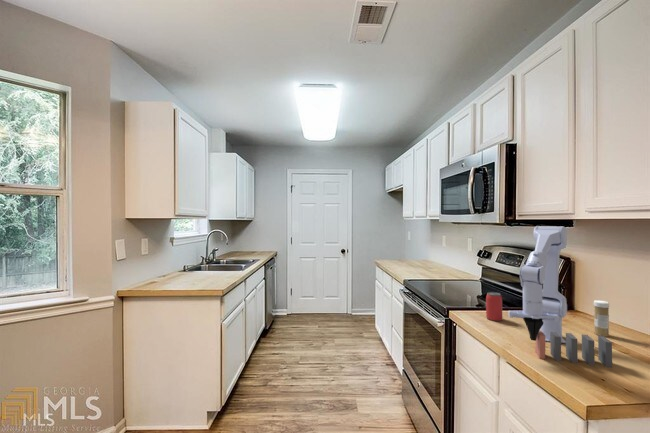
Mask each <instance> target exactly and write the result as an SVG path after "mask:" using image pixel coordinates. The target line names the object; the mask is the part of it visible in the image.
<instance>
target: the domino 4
mask: <svg viewBox="0 0 650 433" xmlns="http://www.w3.org/2000/svg"><path fill="white" fill-rule="evenodd" d="M597 340H598V341H597V343H598V346H597V349H598V350H597V352H598V356H597V357H598V361H599V362H600V363H601V364H603V366H604V367H605V368H613V342H612V341H610V340H609V339H608V338H607V337H604V336H599V335H597Z"/></svg>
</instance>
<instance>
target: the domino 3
mask: <svg viewBox="0 0 650 433" xmlns="http://www.w3.org/2000/svg"><path fill="white" fill-rule="evenodd" d="M581 358H582V360H584V361H585V363H586V364H588V366H589V365H590V366H595V363H596V361H595V340H594V339H593V338H592V337H591V336H589V334H581Z"/></svg>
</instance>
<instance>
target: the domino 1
mask: <svg viewBox="0 0 650 433" xmlns="http://www.w3.org/2000/svg"><path fill="white" fill-rule="evenodd" d="M549 343H550V346H549V347H550V351H549V352H550V355H551V357H552V358H553V359H554V361H555V362H556V361H557V362H562V343H561V337H560V336H559V335H558V334H557V333H556V332H551V331H550V341H549Z"/></svg>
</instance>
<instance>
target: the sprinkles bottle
mask: <svg viewBox="0 0 650 433" xmlns="http://www.w3.org/2000/svg"><path fill="white" fill-rule="evenodd" d="M593 307H594V314H593V315H594V316H593V317H594V318H593V319H594V322H593V323H594V334H595V335H596V336H603V337H605V338H607V337H610V333H609V332H610V331H609V330H610V314H609V312H610V310H609V308H610V303H609V301H606V300H601V299H600V300H599V299H597V300H593Z"/></svg>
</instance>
